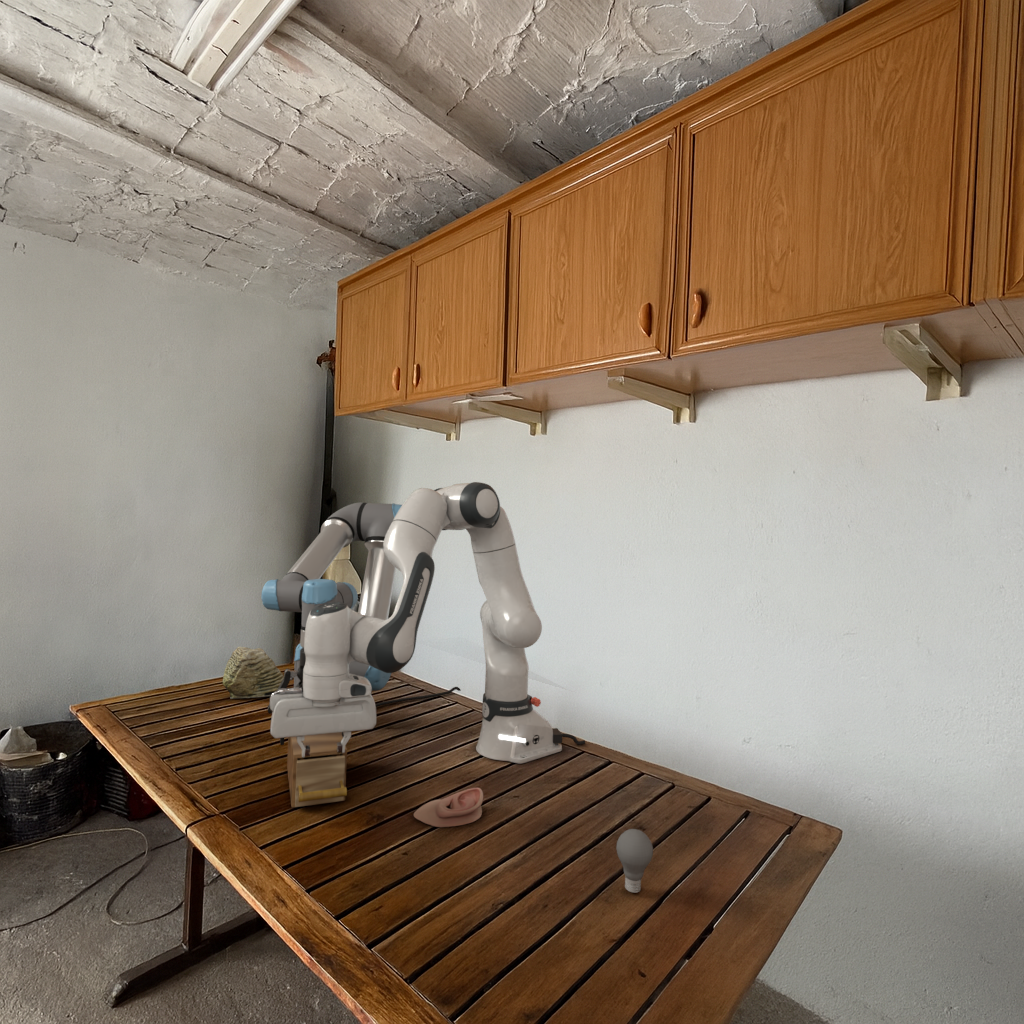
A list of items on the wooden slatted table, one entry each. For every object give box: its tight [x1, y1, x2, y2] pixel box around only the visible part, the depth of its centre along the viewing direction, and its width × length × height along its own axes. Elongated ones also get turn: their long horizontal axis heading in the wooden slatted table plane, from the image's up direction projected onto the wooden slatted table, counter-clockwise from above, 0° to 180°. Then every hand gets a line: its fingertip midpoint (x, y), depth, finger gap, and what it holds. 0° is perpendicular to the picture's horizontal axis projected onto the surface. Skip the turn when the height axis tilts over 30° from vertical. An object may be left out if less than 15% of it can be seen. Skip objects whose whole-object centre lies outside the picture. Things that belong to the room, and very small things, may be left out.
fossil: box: [222, 646, 284, 699], centre depth 198 cm, size 9×18×15 cm, turn 132°
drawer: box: [294, 754, 348, 808], centre depth 135 cm, size 24×9×9 cm, turn 22°
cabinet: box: [286, 732, 348, 808], centre depth 140 cm, size 20×11×11 cm, turn 22°
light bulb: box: [615, 828, 654, 894], centre depth 106 cm, size 6×6×10 cm
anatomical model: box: [413, 787, 484, 828], centre depth 129 cm, size 13×4×12 cm
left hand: (313, 739), depth 145 cm, fingers open, 13 cm apart
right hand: (323, 754), depth 126 cm, fingers open, 5 cm apart
